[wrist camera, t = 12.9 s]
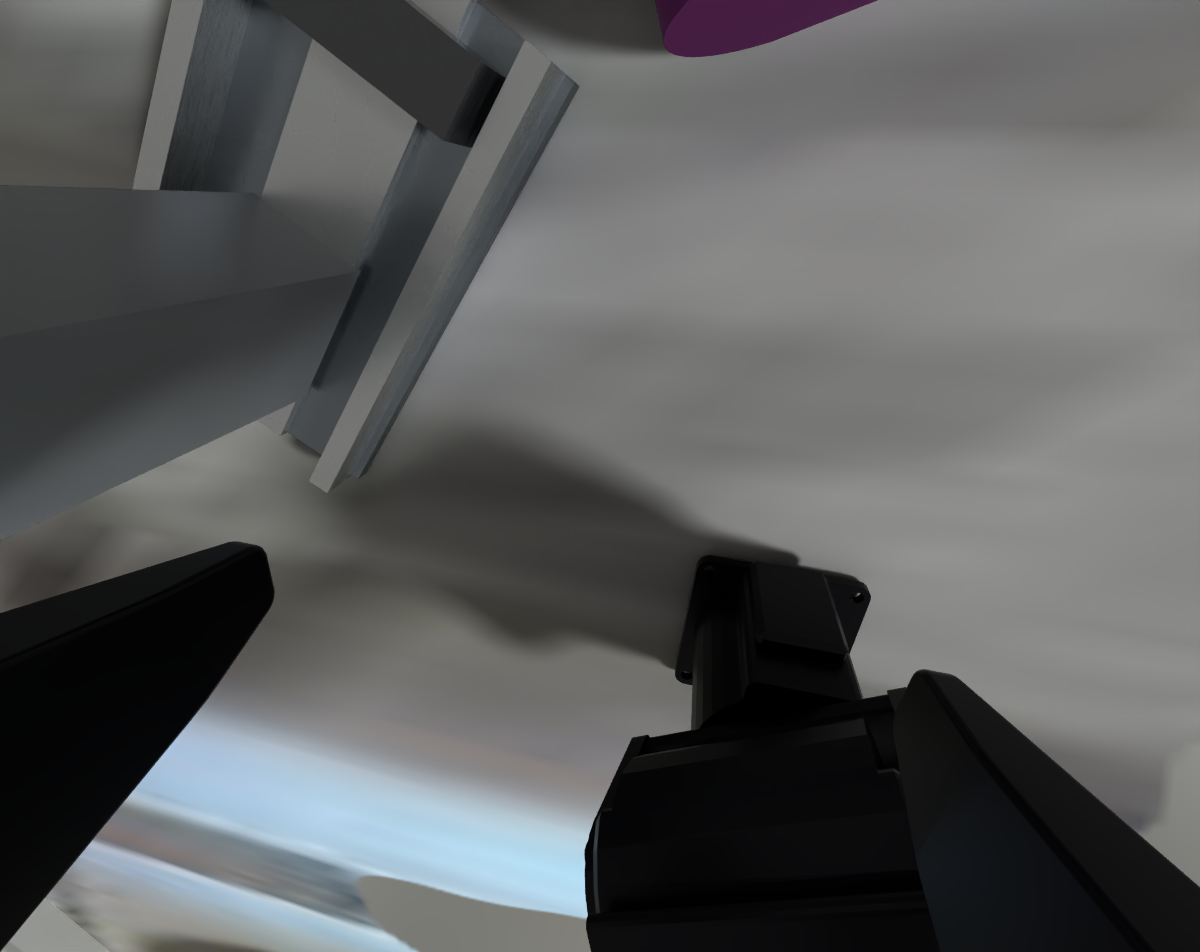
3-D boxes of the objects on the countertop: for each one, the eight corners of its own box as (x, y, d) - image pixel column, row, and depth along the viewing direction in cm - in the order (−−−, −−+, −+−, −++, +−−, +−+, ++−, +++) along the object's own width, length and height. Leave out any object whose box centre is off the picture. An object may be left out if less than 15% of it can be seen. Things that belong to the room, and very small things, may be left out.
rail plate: (272, -168, 15) (172, -255, 12) (579, 86, 16) (552, 61, 13) (147, 324, 22) (66, 341, 19) (365, 473, 23) (319, 509, 20)
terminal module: (360, 271, 18) (-230, 379, 7) (305, 397, 21) (-197, 633, 9) (225, 173, 18) (-676, 108, 6) (185, 314, 20) (-514, 457, 9)
